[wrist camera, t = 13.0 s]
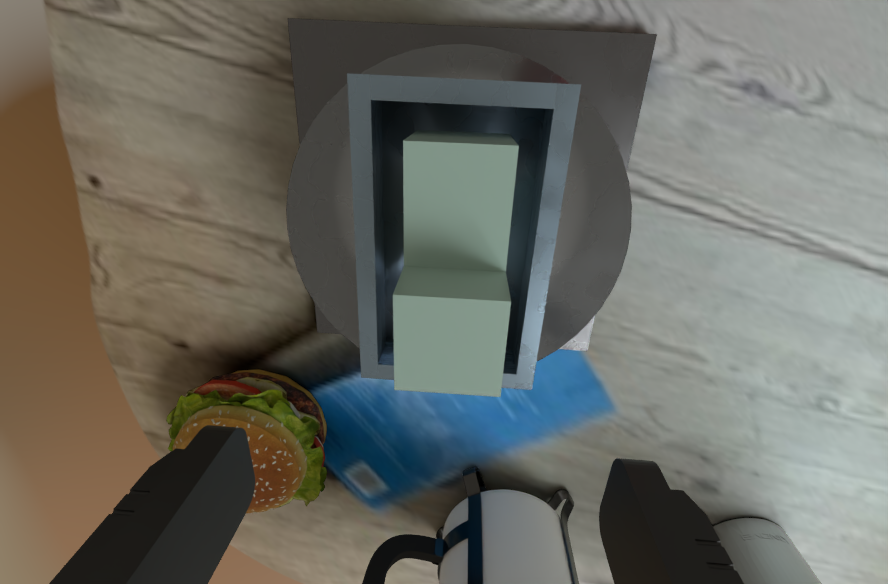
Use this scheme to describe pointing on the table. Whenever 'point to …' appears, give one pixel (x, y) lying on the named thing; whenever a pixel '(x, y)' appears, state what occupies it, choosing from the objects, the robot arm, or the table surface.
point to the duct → (463, 110)
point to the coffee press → (491, 540)
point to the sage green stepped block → (454, 262)
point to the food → (262, 431)
